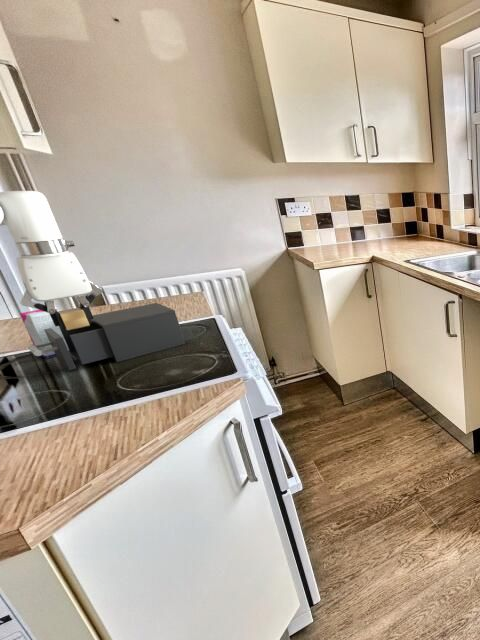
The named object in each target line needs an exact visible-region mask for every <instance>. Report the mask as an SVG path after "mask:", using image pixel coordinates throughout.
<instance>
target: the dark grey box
mask: <svg viewBox="0 0 480 640" xmlns="http://www.w3.org/2000/svg"><path fill="white" fill-rule="evenodd" d="M89 325H90V326H86V327H81V328H76V329H72V330H66V329H63V330H62V329H61V328H60V330H61V332H62V335H63V337H64V339H65V341H66V344H67V346H68V348H69V350H70V352H69V351H68V349H67V347H66V344H65V342H64V340H63V338H62V337H61V336H60V335H59V334H57V333H56V332H55V331H54V330H53V329H51V328H48V329H44V330H45V332H46V335H47V337H48V339H49V341H50V342H48V343H44V344H39V345H35V344H33V343H32V344H29V345H27V349H28V350H29V351H30V352H31V353H32V354H33V355H34V356H36V357H42V356H41V355H42V354H43V353H46V352H50V351H54V352H55V354H56V356H55V357H56V359H57V360H58V361H59V362H60V363H61V364H62V365H63V366H64V367H65V368H66V369H68V371H71V370H75V369H77V367H76V365H75V363H74V360H73V358H74V359H76V360H77V361H78V362H79V363H80V364H81V365H86V364H91V363H94V362H98V361H102V360H105V359H110V358H111V357H114V355H113V353H112V350H111V348H110V345H109V343H108V340H107V338H106V335H105V333H104V330H103V328H102V327H100V326H99V325H97V324H96V323H94V322H92V323H91V324H89ZM48 345H51V346H52V348H49V349H45V350H42V351H41V350H40V349H39V348H40V347H44V346H48ZM72 357H73V358H72Z"/></svg>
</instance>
